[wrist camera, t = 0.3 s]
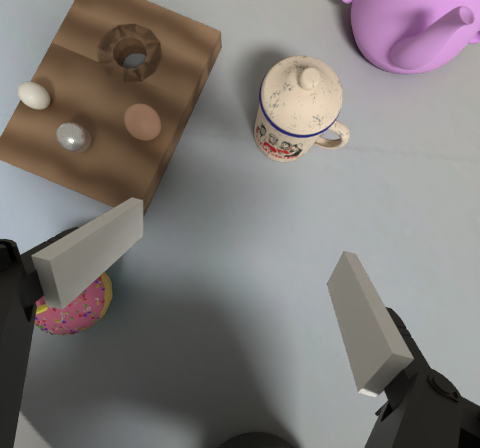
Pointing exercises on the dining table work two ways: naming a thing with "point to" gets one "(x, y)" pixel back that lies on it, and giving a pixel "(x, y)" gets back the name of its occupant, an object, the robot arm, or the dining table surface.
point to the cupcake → (76, 309)
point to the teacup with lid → (298, 109)
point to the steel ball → (73, 137)
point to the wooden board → (112, 97)
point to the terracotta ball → (142, 122)
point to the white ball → (34, 95)
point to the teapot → (414, 32)
